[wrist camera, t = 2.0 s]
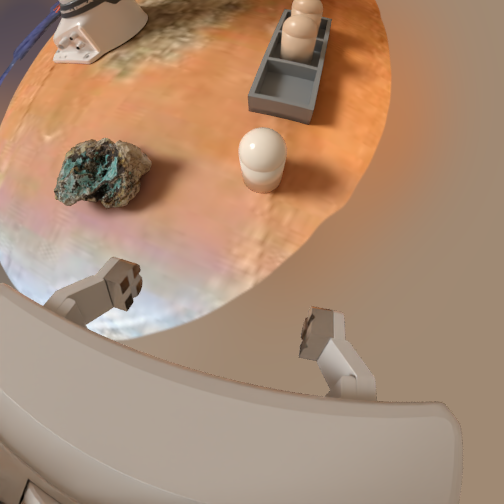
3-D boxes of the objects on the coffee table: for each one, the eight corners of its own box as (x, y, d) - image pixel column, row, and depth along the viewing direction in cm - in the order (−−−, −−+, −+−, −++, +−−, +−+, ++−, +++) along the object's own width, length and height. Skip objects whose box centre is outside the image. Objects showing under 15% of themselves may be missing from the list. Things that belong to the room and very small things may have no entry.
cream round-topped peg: (237, 187, 30) (230, 155, 21) (248, 153, 30) (244, 114, 22) (276, 197, 29) (282, 168, 21) (285, 162, 30) (294, 124, 22)
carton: (248, 110, 31) (245, 62, 22) (283, 22, 33) (286, -18, 24) (309, 124, 30) (323, 78, 21) (328, 32, 32) (338, -7, 23)
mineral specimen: (62, 207, 29) (38, 199, 22) (77, 143, 29) (59, 120, 22) (146, 217, 33) (141, 210, 25) (158, 150, 33) (158, 127, 26)
